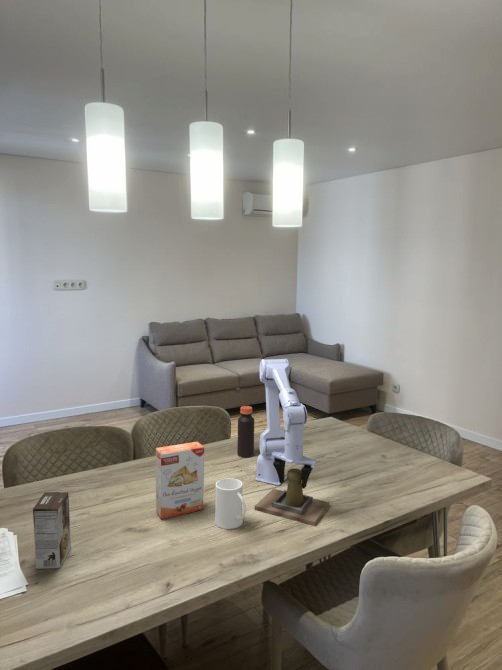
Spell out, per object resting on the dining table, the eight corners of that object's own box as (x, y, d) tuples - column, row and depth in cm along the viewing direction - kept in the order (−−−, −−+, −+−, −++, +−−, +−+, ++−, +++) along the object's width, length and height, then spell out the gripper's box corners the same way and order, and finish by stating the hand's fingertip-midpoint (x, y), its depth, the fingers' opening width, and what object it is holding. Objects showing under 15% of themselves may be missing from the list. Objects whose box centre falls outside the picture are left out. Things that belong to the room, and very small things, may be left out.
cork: (301, 508, 148) (302, 475, 147) (282, 505, 150) (283, 472, 149) (305, 500, 154) (306, 467, 152) (287, 496, 156) (288, 465, 154)
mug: (254, 528, 139) (255, 489, 137) (230, 537, 134) (230, 497, 132) (232, 511, 148) (233, 475, 147) (209, 519, 143) (209, 481, 142)
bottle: (253, 458, 192) (254, 410, 189) (237, 457, 192) (237, 409, 189) (253, 451, 198) (254, 405, 196) (237, 451, 199) (238, 405, 196)
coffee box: (47, 548, 127) (44, 491, 125) (71, 547, 128) (69, 490, 126) (34, 569, 118) (31, 508, 116) (61, 568, 119) (58, 507, 117)
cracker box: (161, 520, 142) (160, 453, 140) (155, 511, 148) (154, 447, 145) (204, 510, 149) (204, 446, 146) (197, 502, 154) (197, 440, 152)
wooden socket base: (254, 509, 150) (254, 501, 149) (273, 491, 162) (273, 484, 162) (314, 525, 141) (314, 517, 140) (329, 505, 153) (329, 497, 153)
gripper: (267, 443, 148) (266, 484, 150) (311, 452, 142) (309, 494, 144) (277, 436, 155) (276, 476, 156) (319, 444, 148) (317, 485, 150)
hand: (292, 484), depth 150 cm, fingers open, 7 cm apart
